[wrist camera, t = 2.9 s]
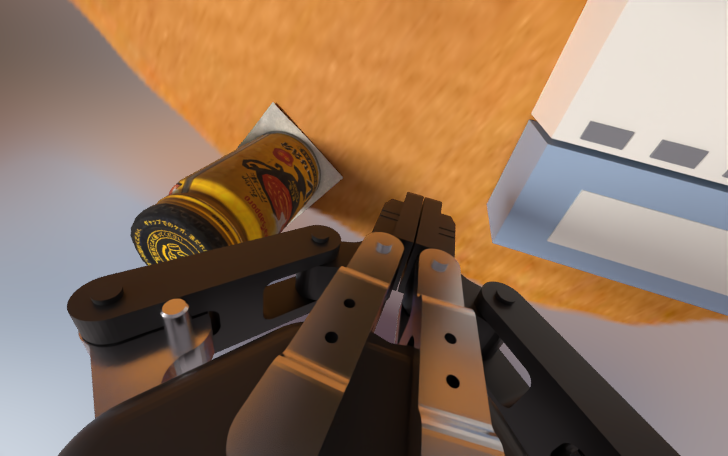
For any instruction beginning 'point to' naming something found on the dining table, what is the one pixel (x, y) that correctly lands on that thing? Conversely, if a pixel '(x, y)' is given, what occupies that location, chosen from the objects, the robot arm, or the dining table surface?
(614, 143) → the white box
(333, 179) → the condiment
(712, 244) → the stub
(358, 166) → the dining table surface
